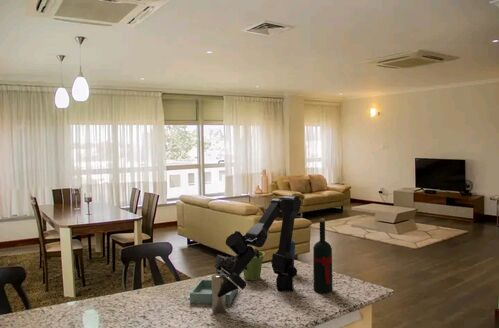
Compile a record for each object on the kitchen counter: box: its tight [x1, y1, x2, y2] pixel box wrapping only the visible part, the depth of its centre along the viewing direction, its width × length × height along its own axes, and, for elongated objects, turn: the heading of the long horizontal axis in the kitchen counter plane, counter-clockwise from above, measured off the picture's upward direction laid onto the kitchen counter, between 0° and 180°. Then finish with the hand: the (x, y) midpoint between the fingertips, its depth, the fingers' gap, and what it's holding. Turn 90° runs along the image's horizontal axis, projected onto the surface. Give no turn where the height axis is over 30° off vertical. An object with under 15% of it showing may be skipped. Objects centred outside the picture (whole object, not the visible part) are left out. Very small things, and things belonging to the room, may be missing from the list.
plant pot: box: [242, 250, 266, 281], centre depth 185 cm, size 12×12×11 cm
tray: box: [189, 279, 239, 305], centre depth 164 cm, size 16×16×4 cm
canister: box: [211, 273, 227, 314], centre depth 149 cm, size 5×5×13 cm
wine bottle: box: [312, 218, 333, 295], centre depth 166 cm, size 8×10×30 cm
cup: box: [290, 239, 296, 267], centre depth 192 cm, size 7×7×15 cm
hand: (215, 293), depth 149 cm, fingers open, 6 cm apart
